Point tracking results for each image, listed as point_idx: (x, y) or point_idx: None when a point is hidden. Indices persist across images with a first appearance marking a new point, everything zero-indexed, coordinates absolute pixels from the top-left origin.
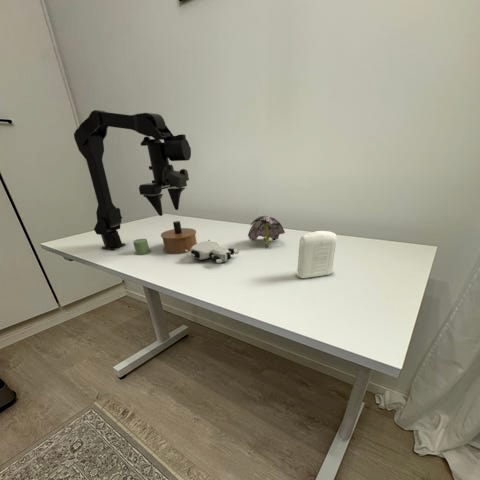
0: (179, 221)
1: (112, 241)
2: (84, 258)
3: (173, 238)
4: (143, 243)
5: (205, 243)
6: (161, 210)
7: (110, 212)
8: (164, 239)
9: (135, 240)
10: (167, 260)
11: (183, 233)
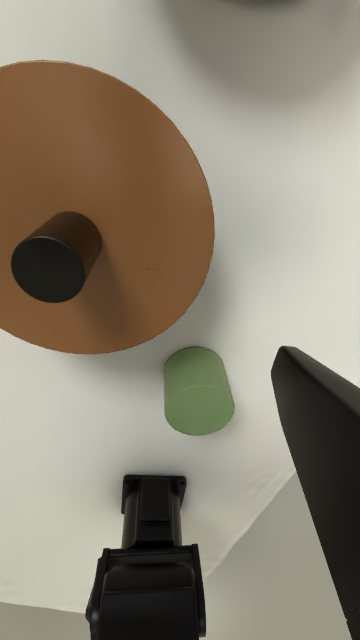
0: (22, 248)
1: (172, 508)
2: (270, 500)
3: (211, 209)
4: (218, 382)
5: None
6: (328, 377)
7: None
8: None
9: (199, 430)
10: (299, 192)
11: (77, 184)
